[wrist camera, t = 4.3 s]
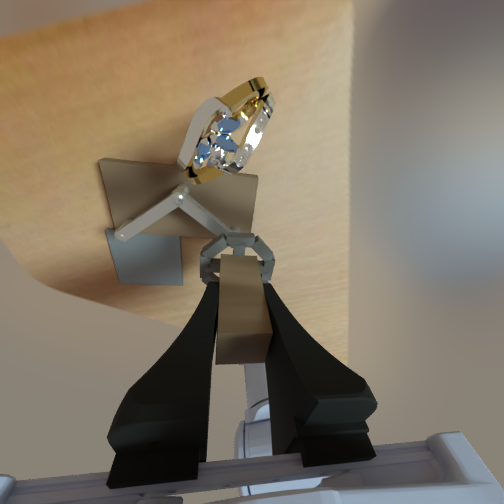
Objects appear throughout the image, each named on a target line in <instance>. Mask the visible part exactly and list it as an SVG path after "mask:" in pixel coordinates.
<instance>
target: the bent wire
mask: <svg viewBox="0 0 504 504" xmlns="http://www.w3.org/2000/svg"><path fill="white" fill-rule="evenodd" d="M189 192H190V187H189V185H188V184H186V183H180V184H179V185H178V186H177V188H176V189H174V190H173V191H172V192H171V194H170V195H168V196H167V197H165V198H164V199H162V200H161V201H159V202H158V203H156V204H155V205H153V206H152V207H150V208H149V209H147V210H146V211H144V212H143V213H141V214H140V215H139V216H137V217H136V218H134V219H133V218H129V219H127V220H126V221H125V222H124V223H123V224H122V225H121V226H120V227H119V228H118V229H117V230H116V231H115V233H114V236H115V238H116V239H117V240H118V241H121V242H125V241H127V240H129V239H130V238H131V237H133V236H134V235H136V234H137V233H139V232H140V231H142V230H143V229H145V228H147V227H148V226H150V225H151V224H153V223H154V222H156V221H157V220H159V219H160V218H162V217H163V216H165V215H166V214H168V213H169V212H171V211H173V210H174V209H176V208H177V207H180V208H181V209H182V210H183V211H185V212H186V213H187V214H189V215H190V216H191V217H193V218H194V219H195V220H197V221H198V222H199V223H200V224H202V225H203V226H204V227H206V228H207V229H208V230H210V231H211V232H212V233H214V234H215V235H216V236H219V235H220V234H222V233H224V234H225V235H226V236H227V231H228V232H241V231H240V228H239V227H238V226H233V227H231V228H229V227H228V226H226V225H225V224H224V223H223V222H222V221H220V220H219V219H218V218H217V217H215V216H214V215H213V214H212V213H211V212H209V211H208V210H207V209H206V208H204V207H203V206H202V205H201V204H199V203H198V202H197V201H196V200H195V199H193V198H192V197H191V196H190V195H188V194H189ZM231 247H232V248H234V247H233V246H231Z"/></svg>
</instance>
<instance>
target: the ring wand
mask: <svg viewBox="0 0 504 504" xmlns="http://www.w3.org/2000/svg"><path fill="white" fill-rule="evenodd" d="M228 246H233V247H234V250H233V255H226V254H221V259H217V258H213V257H214V256H216V255H217V254H218V253H220V252H221V251H222V250H224V249H225V248H226V247H228ZM245 247H250V248H252V249H253V250H254V251H255V252H256V253H257V254H258V255H259V256H260V257H261V258H262V259H263V261H258V260H257V256H245V255H244V254H245ZM274 264H275V259H274V255H273V252H272V251H271V250H270V248H269V247H268V246H267V245H266V244H265V243H264V242H263V241H262V239H261V238H260V237H259V236H258V235H257V236H256V237H255V236H254V233H242V232H228V231H227V236H226V235H225V234H224V233H222V234H220V235H219V236H218V237H216V238H215V239H214V240H212V241H211V242H210V243H208V244H207V245H206V246H205V247H203V249H202V251H201V254H200V278H202V282H204V283H205V284H206V285H207V283H208V282H209V281H214V282H220V288H219V291H220V293H219V306H218V321H217V342H216V365H218V364H254V363H264V362H265V358H266V355H267V352H268V348H269V345H270V341H271V338H272V334H273V331H272V326H271V322H270V317H269V312H268V307H267V303H266V298H265V294H264V288H263V284H262V283H268V280H271V276H272V272H273V268H274ZM213 272H217V273H220V277H218V276H217V275H215V274H214V273H213Z"/></svg>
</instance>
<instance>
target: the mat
mask: <svg viewBox="0 0 504 504" xmlns="http://www.w3.org/2000/svg"><path fill="white" fill-rule="evenodd" d="M105 231H106V235H107V239H108V242H109V246H110V250H111V253H112V257H113V260H114V264H115V268H116V271H117V275H118V279H119V282H120V284H143V285H177V286H182V285H183V278H182V262H181V246H180V236H165V235H149V234H136V235H134V236H133V237H131V238H130V239H129V240H127V241H125V242H121V241H118V240H117V239H116V238H115V236H114V233H115V231H116V230H115V229H106V230H105Z"/></svg>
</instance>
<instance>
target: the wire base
mask: <svg viewBox="0 0 504 504" xmlns="http://www.w3.org/2000/svg"><path fill="white" fill-rule="evenodd" d="M98 161H99V165H100V169H101V173H102V177H103V181H104V185H105V189H106V193H107V197H108V201H109V205H110V210H111V214H112V218H113V222H114V226H115V230H117V229H118V228H119V227H120V226H121V225H122V224H123V223H124V222H125V221H126V220H127V219H129V218H133V219H134V218H136V217H137V216H139V215H140V214H141V213H143V212H144V211H146V210H147V209H149V208H150V207H152V206H153V205H155V204H156V203H158V202H159V201H161V200H162V199H164V198H165V197H167V196H168V195H170V194H171V192H172V191H173V190H174V189H176V188H177V186H178V185H179V184H180V183H186V184H188V185H189V187H190V192H189V194H188V195H190V196H191V197H192V198H193V199H195V200H196V201H197V202H198V203H199V204H201V205H202V206H203V207H204V208H206V209H207V210H208V211H209V212H211V213H212V214H213V215H214V216H215V217H217V218H218V219H219V220H220V221H222V222H223V223H224V224H225V225H226V226H228V227H229V228H231V227H233V226H238V227H239V228H240V231H241V232H242V233H251V227H252V220H253V213H254V206H255V199H256V192H257V185H258V176H257V175H252V174H243V173H235V174H233V175H225V174H223V175H221V176H219V177H217V178H215V179H213V180H211V181H208V182H206V183H203V184H192V183H191V182H190V181H189V180H188V178H187V177H186V176H185V172H184V173H182V172H181V171H180V170H179V168H178V167H177V166H173V165H164V164H155V163H146V162H137V161H129V160H120V159H111V158H103V159H100V160H98ZM198 169H199V168H198ZM137 234H149V235H165V236H181V237H196V238H212V239H215V238H216V237H218V236H216V235H215V234H214V233H212V232H211V231H210V230H208V229H207V228H206V227H204V226H203V225H202V224H200V223H199V222H198V221H197V220H195V219H194V218H193V217H191V216H190V215H189V214H187V213H186V212H185V211H183V210H182V209H181V208H180V207H177V208H176V209H174V210H173V211H171V212H169V213H168V214H166V215H165V216H163V217H162V218H160V219H159V220H157V221H156V222H154V223H153V224H151V225H150V226H148V227H147V228H145V229H143V230H142V231H140V232H139V233H137Z"/></svg>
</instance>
